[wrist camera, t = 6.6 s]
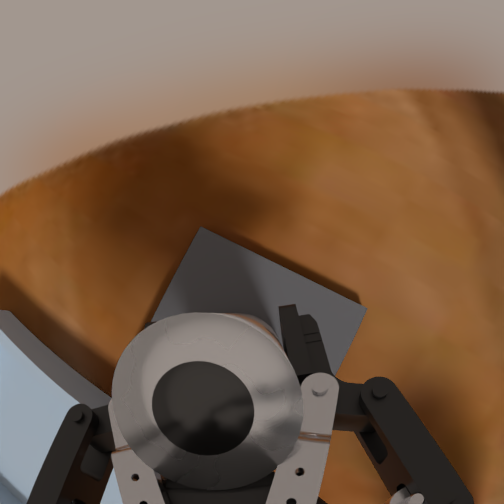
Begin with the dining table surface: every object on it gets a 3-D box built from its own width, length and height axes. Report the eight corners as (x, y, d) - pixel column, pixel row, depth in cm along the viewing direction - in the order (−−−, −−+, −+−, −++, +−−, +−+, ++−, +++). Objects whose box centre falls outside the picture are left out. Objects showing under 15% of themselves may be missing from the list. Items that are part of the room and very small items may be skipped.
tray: (9, 310, 21) (-18, 308, 17) (228, 464, 18) (222, 488, 15) (-21, 456, 18) (-40, 463, 14) (143, 581, 15) (132, 600, 12)
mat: (203, 230, 21) (200, 226, 20) (362, 308, 20) (367, 308, 19) (127, 380, 20) (121, 383, 19) (280, 460, 18) (280, 466, 17)
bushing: (222, 299, 19) (158, 276, 8) (294, 335, 19) (340, 368, 7) (187, 368, 19) (88, 429, 7) (257, 404, 18) (246, 515, 6)
